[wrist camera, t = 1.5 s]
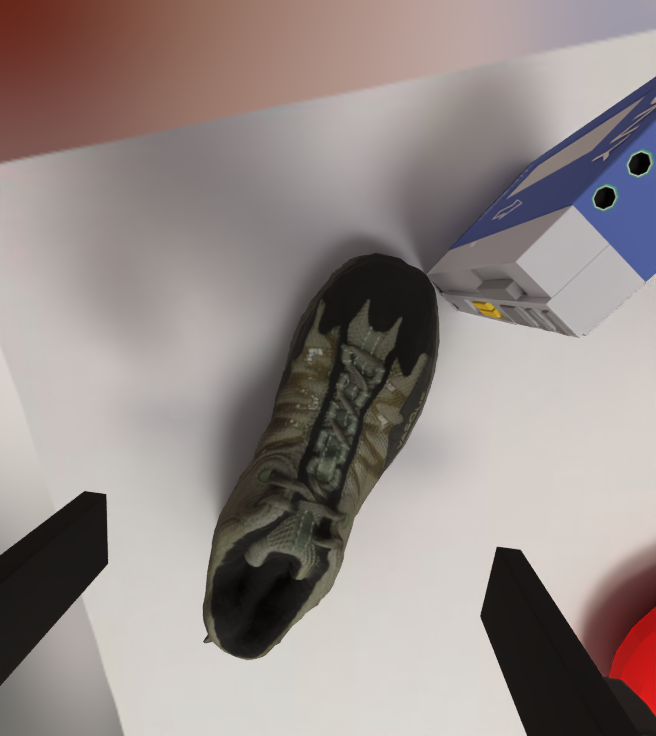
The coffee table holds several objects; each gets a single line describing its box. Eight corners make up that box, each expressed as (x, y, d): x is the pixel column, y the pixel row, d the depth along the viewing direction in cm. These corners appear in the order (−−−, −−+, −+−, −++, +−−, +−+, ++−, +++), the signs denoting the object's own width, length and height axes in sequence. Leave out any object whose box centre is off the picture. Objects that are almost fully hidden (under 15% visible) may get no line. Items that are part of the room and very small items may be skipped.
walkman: (532, 160, 19) (821, -41, 7) (568, 199, 19) (904, 65, 7) (420, 277, 20) (509, 267, 9) (455, 312, 21) (586, 346, 9)
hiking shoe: (474, 299, 21) (568, 309, 11) (324, 590, 25) (306, 759, 16) (334, 237, 20) (318, 197, 11) (210, 541, 25) (128, 686, 16)
